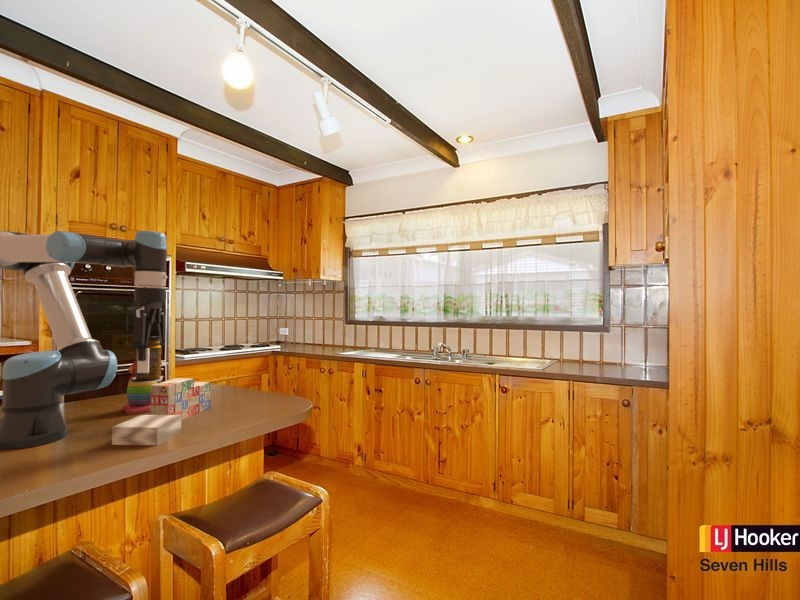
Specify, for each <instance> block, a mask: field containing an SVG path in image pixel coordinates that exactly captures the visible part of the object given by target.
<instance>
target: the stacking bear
mask: <svg viewBox="0 0 800 600" xmlns="http://www.w3.org/2000/svg"><path fill="white" fill-rule="evenodd" d="M128 372H129V374H131V376H130V378H129V380H128V384H127V389H126V398H127V401H128V403H126V404H123V406H122V411H124V412H125V414H126V415H128V416H131V415H132V416H133V415H134V416H135V415H139V414H140V415H142V414H145V413H149V412H150V413H151V405H150V395H151V385H153V384H157V383H158V381H157V382H149V383H148V382H142V383H141V382H139V383H133V382H131V380H132V379H133V378H135V373H136V360H134V362H133V363H132V364H131V365H130V366H129V367H128Z"/></svg>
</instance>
